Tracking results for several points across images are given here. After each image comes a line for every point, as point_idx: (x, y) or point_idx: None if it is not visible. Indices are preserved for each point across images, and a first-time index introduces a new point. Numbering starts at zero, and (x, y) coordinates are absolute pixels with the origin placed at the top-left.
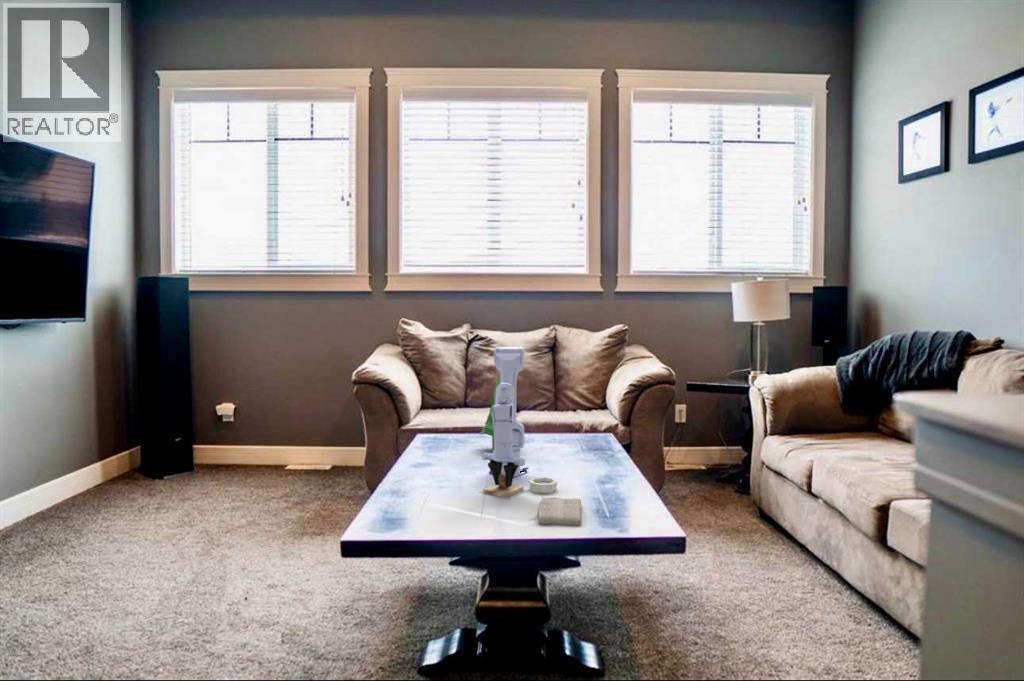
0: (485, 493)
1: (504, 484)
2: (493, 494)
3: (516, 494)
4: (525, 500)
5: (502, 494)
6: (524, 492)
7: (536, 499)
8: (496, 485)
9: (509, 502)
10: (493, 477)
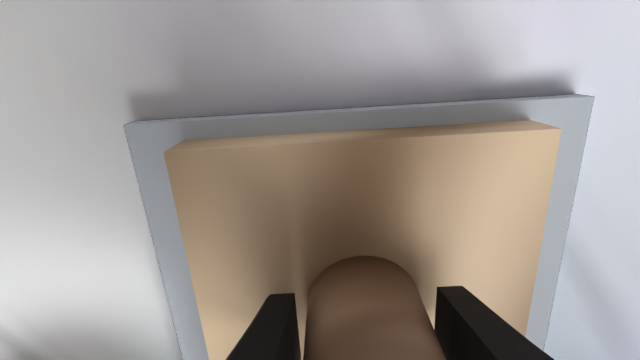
0: (492, 118)
1: (318, 312)
2: (378, 130)
3: None
4: (54, 222)
5: (246, 143)
6: (182, 354)
7: (13, 295)
8: None
9: (114, 77)
10: (544, 352)
